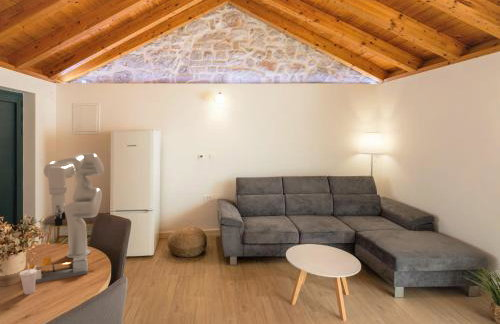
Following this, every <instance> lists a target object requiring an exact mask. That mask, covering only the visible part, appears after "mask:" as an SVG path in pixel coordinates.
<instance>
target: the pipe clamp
mask: <svg viewBox="0 0 500 324" xmlns="http://www.w3.org/2000/svg"><path fill="white" fill-rule="evenodd" d="M51 258H52V257H51V256H45V257H43V260H42V263H40V264H38V266H42V265H43V266H48V265H53V264H52V259H51ZM34 267H35V264H30V263H29V269H33V268H34ZM25 270H28V265H27V264H26V265H25Z"/></svg>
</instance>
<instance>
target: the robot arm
mask: <svg viewBox="0 0 500 324" xmlns="http://www.w3.org/2000/svg"><path fill="white" fill-rule="evenodd" d="M104 173H105V167H104V164H103V162H102V160H101V159H100V157H99V156H98V155H97V154H96V153H92V152H91V153H90V152H89V153H88V152H87V153H86V152H85V153H76V154H74V155H72V156H70V157H66V158H63V159H57V160H52V161H51V162H49V163H47V164H46V165H45V166H44V168H43V174H44V176H45V177H46V178H48V179H47V180H48V191H49V195H50V196H51V197H50V198H51V199H50V201H51V214H52V215H54V225H55V227H62V226H63V225H64V224H63V223H64V222H63V220H66V222H67V235H68V237H67V239H68V241H67V242H68V252H66V254H65V255H66V256H65V257H66V258H68V259H73V258H74V257H79V256H86V255H87V256H88V255H90V254H91V249H89V248H88V234H87V223H86V221H85V219H86V218H95V217H97V216H98V214H99V210H100V207H101V204H102V199H103V193H102V189H100V188H99V187H93V183H92V182H91V180H90V178H88V177H95V176H97V177H98V176H102V175H103V174H104ZM74 176H75V180H76V186H75V189H74V191H73V194H72V202H69V203H67V204H66V198H65V197H66V195H65V194H67V193H68V192H67V179H70V178H72V177H74Z"/></svg>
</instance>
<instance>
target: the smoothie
mask: <svg viewBox="0 0 500 324" xmlns="http://www.w3.org/2000/svg"><path fill="white" fill-rule="evenodd" d="M29 264H30V262H27V264H26V266H27V265H28V270H26V269H24V270H22V271H20V272H19V274H18V275H19V277H20V281H21V285H22V288H23V293H24V295H31V294H34V293H35V290H36V283H35V280H36V273H37V270H36V269H29Z"/></svg>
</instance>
